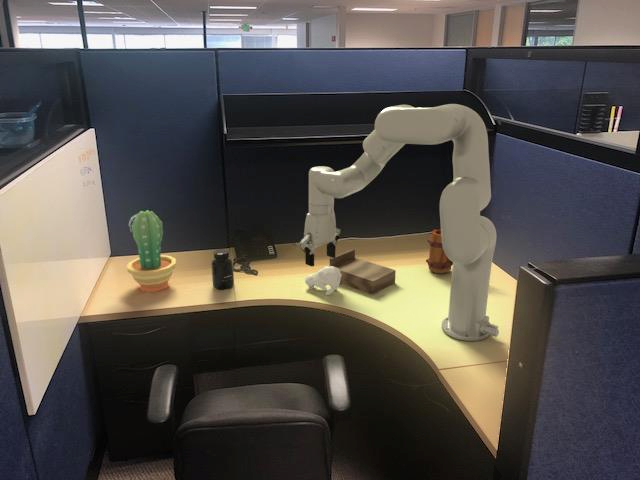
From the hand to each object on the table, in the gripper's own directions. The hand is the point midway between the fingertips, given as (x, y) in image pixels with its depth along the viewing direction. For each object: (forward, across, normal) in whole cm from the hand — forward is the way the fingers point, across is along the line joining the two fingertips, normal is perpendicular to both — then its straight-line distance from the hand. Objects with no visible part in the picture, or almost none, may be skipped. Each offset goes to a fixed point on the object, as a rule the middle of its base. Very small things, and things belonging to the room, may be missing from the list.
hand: (320, 260), depth 161 cm
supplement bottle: (+11, +19, -25) cm, 33 cm away
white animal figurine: (+10, 0, +1) cm, 10 cm away
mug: (+10, -39, +23) cm, 46 cm away
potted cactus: (+11, +34, -42) cm, 55 cm away
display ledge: (+10, -14, +6) cm, 18 cm away
